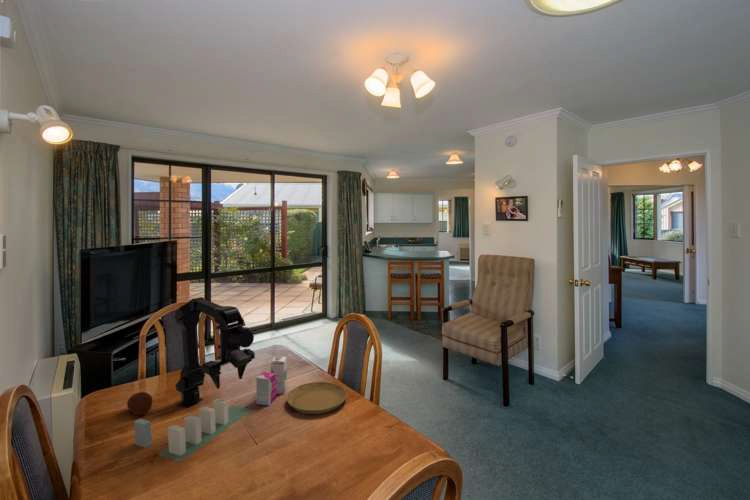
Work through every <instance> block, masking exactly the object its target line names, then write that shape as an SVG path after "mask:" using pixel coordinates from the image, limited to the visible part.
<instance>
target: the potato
mask: <svg viewBox="0 0 750 500" xmlns="http://www.w3.org/2000/svg"><path fill="white" fill-rule="evenodd" d="M153 401H154V400H153V396H152V395H151V394H150V393H148V392H146V391H140V392H136V393H134V394H132V395H131V396H130V397H129V398H128V400H127V402H126V403H127V404H126V406H127V409H128V410H129V411H130V412H132V413H133V414H134V415H136V416H144V415H146V414H147V413H148V412H149V411H150V410H151V409H152V405H153Z"/></svg>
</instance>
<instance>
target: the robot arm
mask: <svg viewBox="0 0 750 500" xmlns="http://www.w3.org/2000/svg"><path fill="white" fill-rule="evenodd" d="M202 313H203V314H204V315H207V316H209V317H212V318H213V321H214V322H215V323H216V324H218V325H217V326H216V327H215V328H216V330H219V344H218V345H217V348H218V349H220V350H219V351H220V352H219V353H220V354H219V355H218V357H217V359H218V360H219V361H217V362H216V361H214V360H209V361H206V362H203V363H202V364H200V363H199V356H198V355H199V354H198V342H197V341H198V340H197V326H198V325H199V322H200V321H201V320H200V317H201V316H200V315H201V314H202ZM174 317H175V322H176V324H177V326H178V327H179V328H180V329H181V335H182V336H181V337H182V348H183V349H182V352H183V361H184V362H183V363H184V365H183V367H182V369H181V371H180V372H179V378H180V379H179V380H178V381H177V383H176V384H175V389H176V392H178V393H180V396H181V400H180V401H179V402H178V403H177V405H178V406H182V407H186V408H191V407H192V406H194V405H197V404H198V403H200V402H201V401H203V398H202V397H200V394H201V393H200V386H203V385H204V381H205V377H206V375H208V376H209V377H210V378H211V381H212V382H213V384H214V386H215V387H216V389H218V390H220V386H221V382H220V381H221V380H220V379H221V378H220V375H221V374H222V371H221V369H222V367H223V366H226V365H229V364H231V365H232V366H233V367H234V368H235V369H236V370H237V375H238V379H239V380H242V379H243V377H244V373H245V370H246V369H247V368H246V367H247V365H249V363H250V362H252V360H254V359H255V358H256V354H255V352H254V351H253V350H252V349H250V348H249V347H250V346H251V345H253V342H254V339H255V336H254V334H253V332H252V331H250V328H249V327H248V326H246V323H245V319H244V318H243V316H242V314H241V313H240V310H239V308H238V307H236V306H230V305H226V306H224V305H220V304H218V303H214V302H213V301H210V300H207V299H205V297H202V296H201V297H200V296H199V297H196V298H195V297H194V298H191V299H190V300H189V301H187V302H186V303H185V304H183V305H181V306H179V308H177V310H176V311H175V312H174ZM241 347H242V348H244V349H241Z"/></svg>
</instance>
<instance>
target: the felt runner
mask: <svg viewBox="0 0 750 500" xmlns="http://www.w3.org/2000/svg"><path fill="white" fill-rule="evenodd" d="M252 411H253V409H251V408H247V407H242V406H238V405H234V404H232V405H230V406H228V423H226V424H225V425H222V424H219V423H215V426H216V431H215V432H214V433H212V434H208V433H204V432H201V439H202V441H201V442H200V443H198V444H197V445H196V444H193V443H189V442H186V452H185V453H184V454H183V455H181V456H179V455H176V454H173V453H170V452H169V446H168V447H166V448H165V449H163V450H162V451H160V452H158V453H157V455H158V456H161V457H164V458H167V459H171V460H174V461H176V462H180V463H182V462H183V461H184V460H186V459H187V458H188V457H189V456H191V455H192V454H194V453H196V452H197V451H198V450H199V449H201V448H202V447H204V446H205V445H207V444H208V443H209V442H210V441H211V440H213V439H214V438H216V437H217V436H219V435H220V434H222V433H223V432H224V431H226V430H227V429H228V428H231V426H233V425H235V424H236V423H238V421H240V420H241V419H242V418H245V416H247V415H248V414H250V412H252Z"/></svg>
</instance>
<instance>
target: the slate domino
mask: <svg viewBox="0 0 750 500" xmlns="http://www.w3.org/2000/svg"><path fill="white" fill-rule="evenodd" d="M133 426H134V427H133V428H134V442H135V445H136V446H138V447H142V448H145V449H147V448H149V447H150V446H151V445H152V443H153V439H152V422H151V421H150V420H146V419H142V418H139V419H136V420H135V421H133Z"/></svg>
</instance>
